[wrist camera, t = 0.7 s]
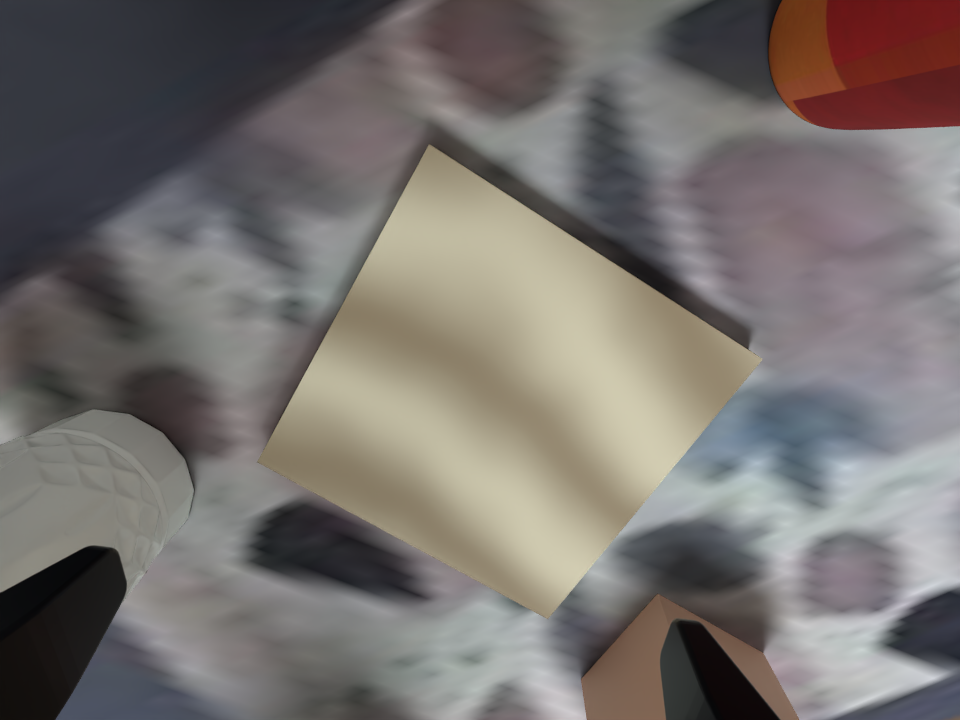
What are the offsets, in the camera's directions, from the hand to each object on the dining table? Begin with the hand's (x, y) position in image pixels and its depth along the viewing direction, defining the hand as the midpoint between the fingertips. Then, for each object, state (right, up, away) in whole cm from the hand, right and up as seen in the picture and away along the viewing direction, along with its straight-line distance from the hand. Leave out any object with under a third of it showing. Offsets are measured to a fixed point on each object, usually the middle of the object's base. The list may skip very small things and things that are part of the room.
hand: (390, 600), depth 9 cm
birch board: (+2, +2, +13) cm, 14 cm away
